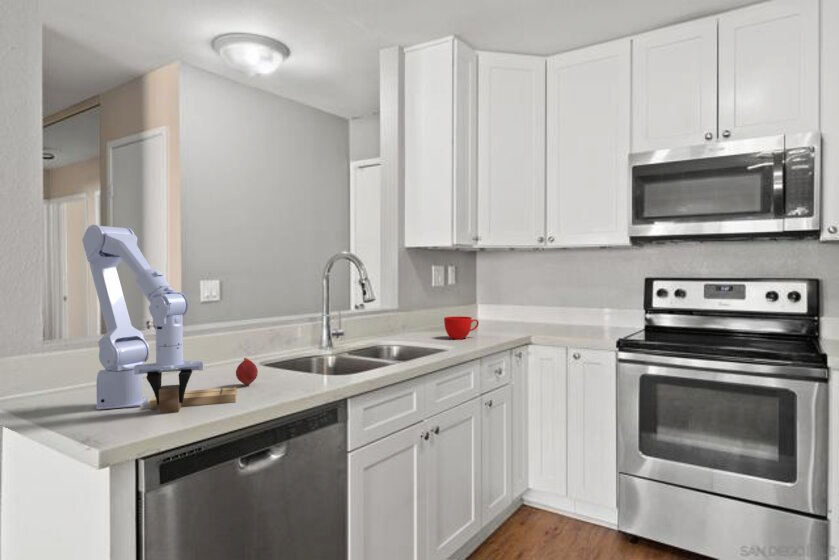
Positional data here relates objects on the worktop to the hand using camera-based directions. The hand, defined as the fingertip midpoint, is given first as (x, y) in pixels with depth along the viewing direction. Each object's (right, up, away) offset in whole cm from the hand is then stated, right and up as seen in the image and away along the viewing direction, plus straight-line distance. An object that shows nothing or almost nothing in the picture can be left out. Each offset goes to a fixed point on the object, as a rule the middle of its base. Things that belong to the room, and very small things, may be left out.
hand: (170, 402), depth 120 cm
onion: (+9, -1, +26) cm, 27 cm away
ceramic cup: (+78, +1, +124) cm, 146 cm away
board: (+2, -2, +8) cm, 8 cm away
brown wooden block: (-1, -2, +2) cm, 3 cm away
